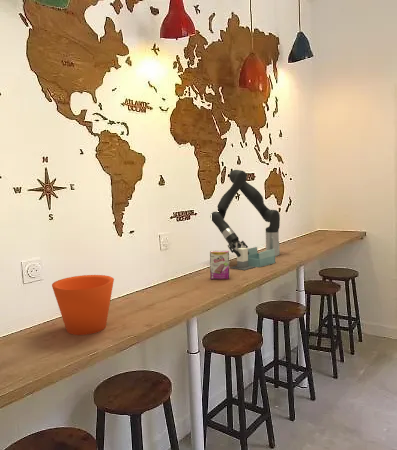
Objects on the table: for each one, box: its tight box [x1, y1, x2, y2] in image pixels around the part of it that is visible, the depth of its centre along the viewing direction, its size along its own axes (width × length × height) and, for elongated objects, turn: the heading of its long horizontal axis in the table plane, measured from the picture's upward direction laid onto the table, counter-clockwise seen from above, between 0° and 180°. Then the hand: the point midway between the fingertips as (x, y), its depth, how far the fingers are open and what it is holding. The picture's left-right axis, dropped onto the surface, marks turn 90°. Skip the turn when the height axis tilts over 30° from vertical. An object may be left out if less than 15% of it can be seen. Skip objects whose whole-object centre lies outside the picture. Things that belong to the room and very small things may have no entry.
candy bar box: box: [209, 249, 231, 280], centre depth 271 cm, size 11×5×16 cm, turn 84°
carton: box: [248, 246, 276, 268], centre depth 308 cm, size 17×15×10 cm
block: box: [236, 247, 249, 268], centre depth 297 cm, size 5×5×12 cm
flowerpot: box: [51, 274, 115, 336], centre depth 192 cm, size 25×25×20 cm
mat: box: [229, 265, 256, 271], centre depth 298 cm, size 11×12×1 cm
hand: (244, 255), depth 296 cm, fingers open, 8 cm apart
